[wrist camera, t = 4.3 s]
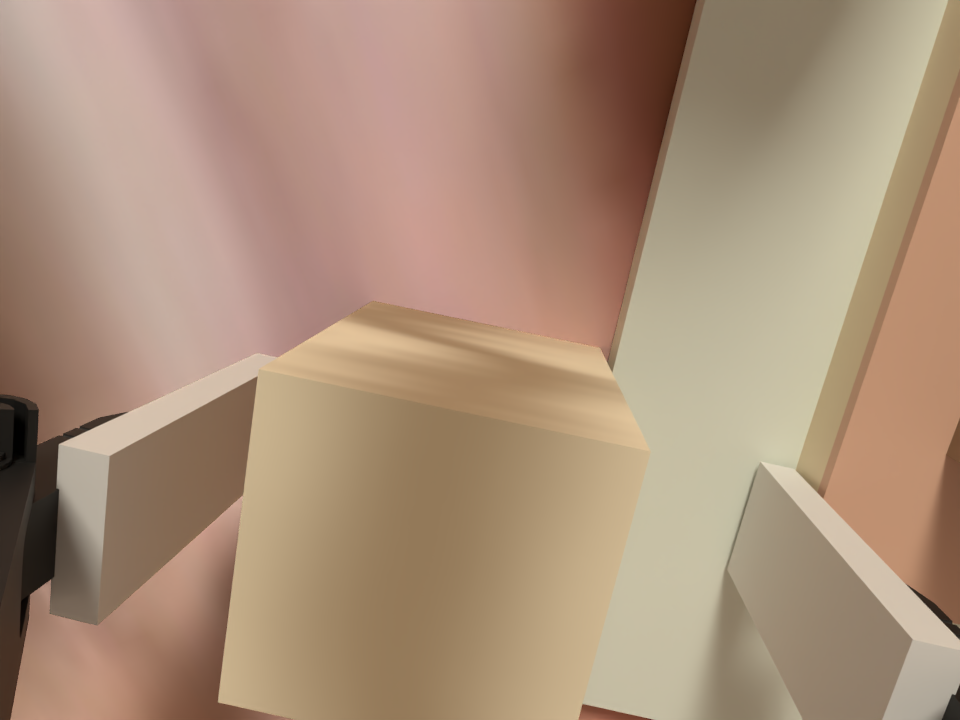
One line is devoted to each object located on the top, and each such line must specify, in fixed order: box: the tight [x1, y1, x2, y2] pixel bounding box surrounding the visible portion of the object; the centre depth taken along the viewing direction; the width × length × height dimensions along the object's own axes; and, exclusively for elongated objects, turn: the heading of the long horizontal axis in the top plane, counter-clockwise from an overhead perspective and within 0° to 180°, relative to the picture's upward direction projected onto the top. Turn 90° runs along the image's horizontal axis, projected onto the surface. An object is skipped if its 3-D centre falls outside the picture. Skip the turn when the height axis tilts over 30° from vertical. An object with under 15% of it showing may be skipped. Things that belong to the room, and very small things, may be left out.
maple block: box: [218, 301, 651, 720], centre depth 13 cm, size 6×6×7 cm
